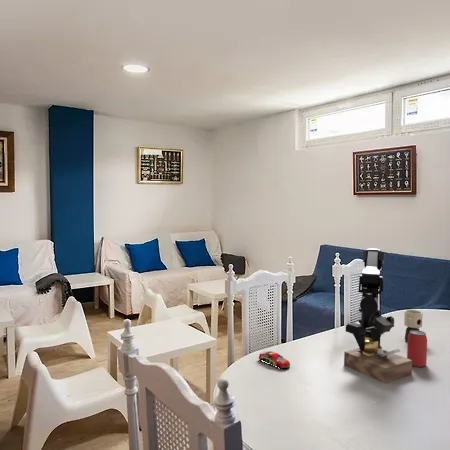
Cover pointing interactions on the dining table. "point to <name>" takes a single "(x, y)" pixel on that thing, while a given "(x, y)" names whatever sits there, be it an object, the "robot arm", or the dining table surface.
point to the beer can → (417, 348)
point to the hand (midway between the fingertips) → (368, 349)
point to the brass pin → (370, 346)
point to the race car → (274, 359)
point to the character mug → (412, 321)
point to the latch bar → (388, 353)
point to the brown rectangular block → (378, 365)
